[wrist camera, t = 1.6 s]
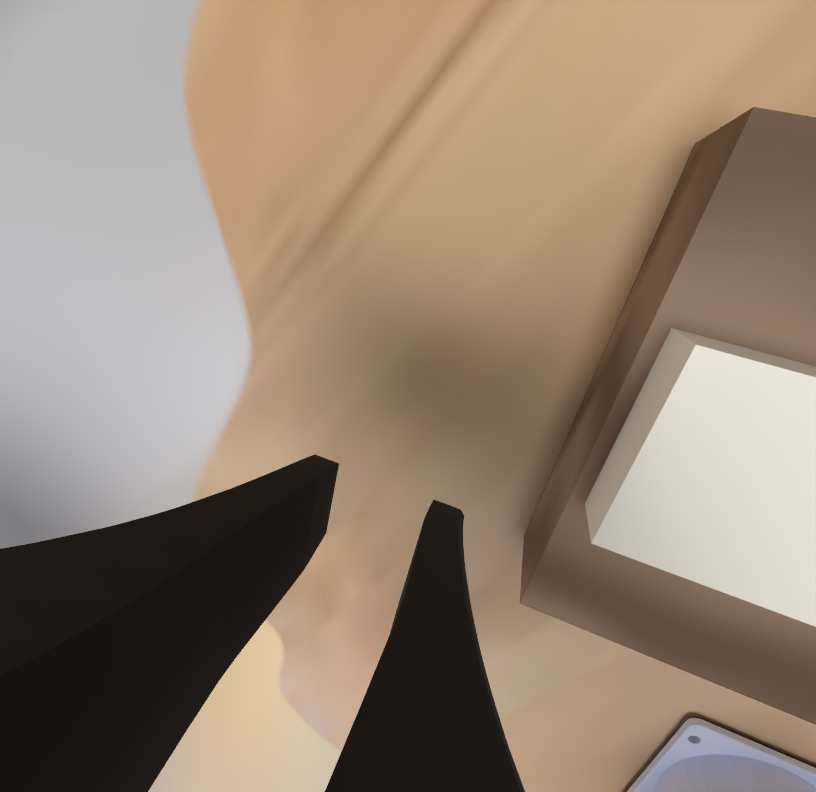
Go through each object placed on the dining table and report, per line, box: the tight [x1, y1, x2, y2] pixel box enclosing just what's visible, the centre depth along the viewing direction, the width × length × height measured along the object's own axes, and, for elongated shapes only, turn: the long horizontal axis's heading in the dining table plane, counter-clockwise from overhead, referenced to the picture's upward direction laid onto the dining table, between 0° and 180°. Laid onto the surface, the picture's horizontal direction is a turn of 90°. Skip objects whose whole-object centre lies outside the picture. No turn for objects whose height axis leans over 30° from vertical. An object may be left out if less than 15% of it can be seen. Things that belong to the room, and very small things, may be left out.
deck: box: [520, 107, 816, 724], centre depth 13 cm, size 16×12×4 cm
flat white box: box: [585, 328, 816, 627], centre depth 11 cm, size 6×9×2 cm, turn 77°
